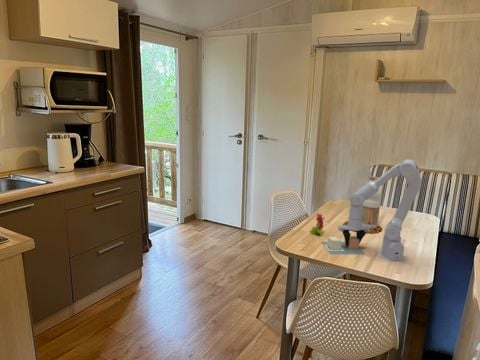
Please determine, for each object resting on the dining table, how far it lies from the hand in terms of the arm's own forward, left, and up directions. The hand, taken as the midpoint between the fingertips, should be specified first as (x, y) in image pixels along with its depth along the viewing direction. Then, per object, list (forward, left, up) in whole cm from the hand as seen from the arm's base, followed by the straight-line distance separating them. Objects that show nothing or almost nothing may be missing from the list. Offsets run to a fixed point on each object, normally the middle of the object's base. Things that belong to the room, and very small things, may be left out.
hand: (352, 245), depth 169 cm
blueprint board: (-1, +5, -2) cm, 5 cm away
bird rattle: (+18, +11, -2) cm, 21 cm away
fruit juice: (+31, -22, -2) cm, 38 cm away
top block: (0, 0, -1) cm, 1 cm away
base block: (-1, +9, -1) cm, 9 cm away
